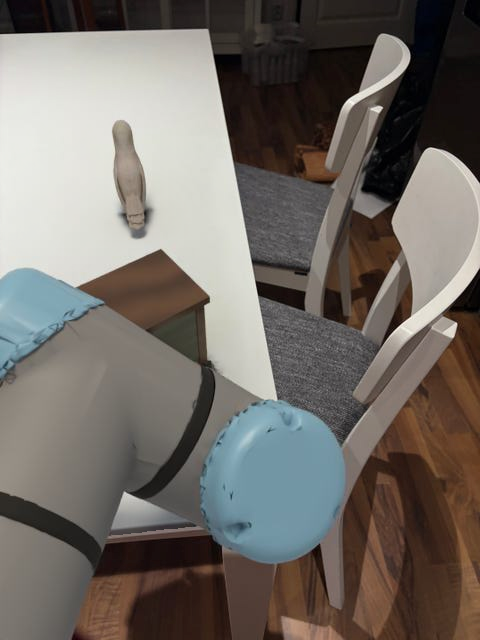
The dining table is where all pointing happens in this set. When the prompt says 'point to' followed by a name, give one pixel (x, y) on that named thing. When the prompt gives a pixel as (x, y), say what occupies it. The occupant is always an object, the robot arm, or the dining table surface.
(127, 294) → the cupboard
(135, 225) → the bird
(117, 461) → the robot arm
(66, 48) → the dining table surface
